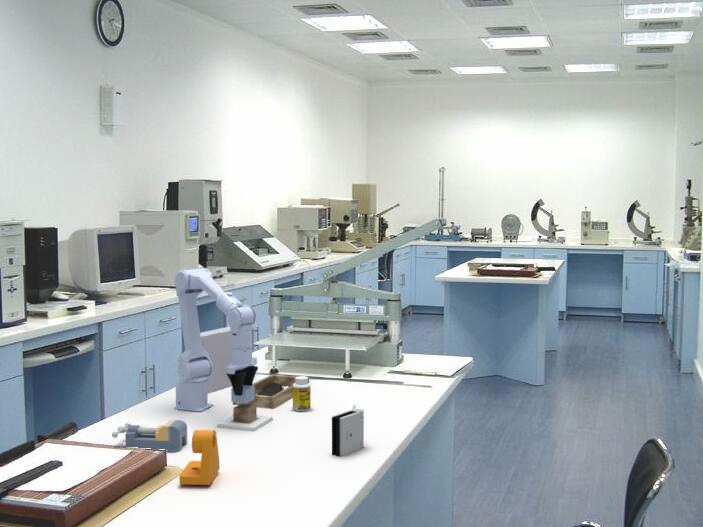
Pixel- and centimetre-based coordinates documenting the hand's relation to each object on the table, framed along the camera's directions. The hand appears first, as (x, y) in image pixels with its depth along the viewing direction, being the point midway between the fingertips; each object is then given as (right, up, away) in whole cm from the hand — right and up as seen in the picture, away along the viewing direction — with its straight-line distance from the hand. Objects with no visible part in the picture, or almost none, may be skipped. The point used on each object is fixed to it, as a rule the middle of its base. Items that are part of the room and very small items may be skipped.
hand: (242, 393), depth 237 cm
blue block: (0, -2, 0) cm, 2 cm away
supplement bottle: (+16, -8, +15) cm, 24 cm away
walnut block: (+1, -8, 0) cm, 8 cm away
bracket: (-4, -14, -45) cm, 47 cm away
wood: (+5, -7, +33) cm, 34 cm away
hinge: (+31, -11, -22) cm, 40 cm away
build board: (+1, -9, 0) cm, 9 cm away
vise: (-22, -11, -20) cm, 32 cm away
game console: (-13, -5, +46) cm, 48 cm away
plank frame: (+6, -6, +32) cm, 33 cm away
